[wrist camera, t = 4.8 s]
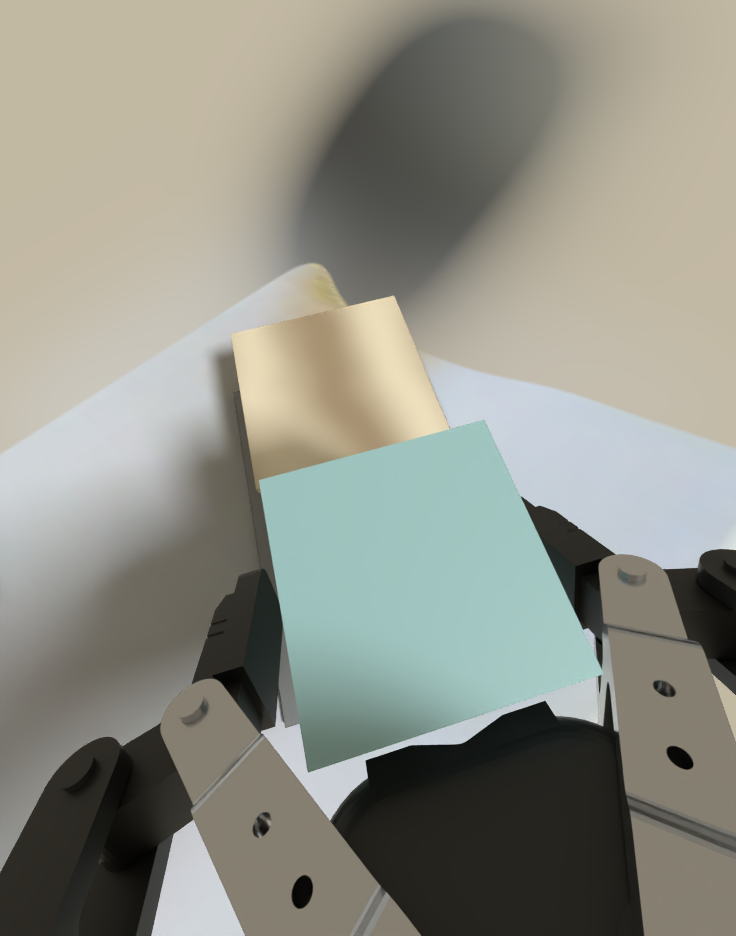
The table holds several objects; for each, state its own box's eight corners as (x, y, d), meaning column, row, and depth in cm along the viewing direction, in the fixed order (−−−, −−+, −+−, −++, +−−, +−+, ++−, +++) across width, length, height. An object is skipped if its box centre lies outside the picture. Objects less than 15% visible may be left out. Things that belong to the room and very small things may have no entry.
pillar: (358, 657, 16) (308, 772, 5) (335, 561, 18) (259, 480, 6) (450, 629, 16) (603, 674, 5) (419, 536, 18) (484, 419, 7)
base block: (280, 513, 19) (256, 489, 15) (256, 380, 22) (230, 334, 18) (439, 469, 19) (453, 436, 16) (391, 346, 23) (393, 295, 19)
